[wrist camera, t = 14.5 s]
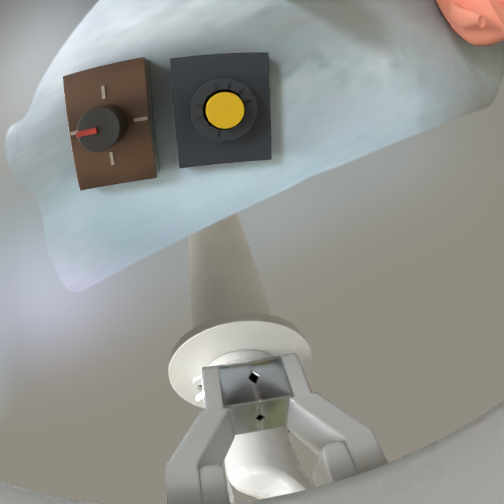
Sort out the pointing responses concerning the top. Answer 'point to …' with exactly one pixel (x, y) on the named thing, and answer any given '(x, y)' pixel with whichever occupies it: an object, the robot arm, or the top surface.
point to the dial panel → (138, 123)
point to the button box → (202, 89)
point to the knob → (101, 128)
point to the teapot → (475, 19)
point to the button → (225, 110)
